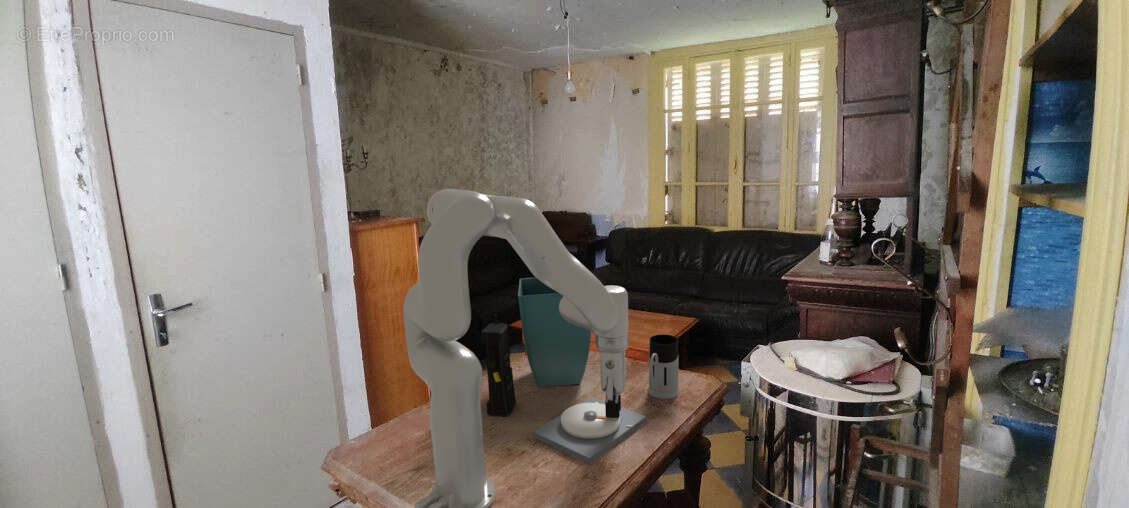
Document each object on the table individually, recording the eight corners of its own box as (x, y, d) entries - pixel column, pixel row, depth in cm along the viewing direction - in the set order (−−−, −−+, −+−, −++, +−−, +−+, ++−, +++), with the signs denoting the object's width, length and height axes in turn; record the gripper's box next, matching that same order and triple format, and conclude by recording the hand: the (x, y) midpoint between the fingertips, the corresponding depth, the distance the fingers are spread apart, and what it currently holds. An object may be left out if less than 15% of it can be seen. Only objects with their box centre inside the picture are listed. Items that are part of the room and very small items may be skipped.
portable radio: (508, 419, 131) (502, 324, 126) (485, 417, 133) (478, 323, 128) (517, 404, 139) (511, 314, 134) (495, 402, 140) (489, 313, 135)
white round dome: (555, 436, 120) (554, 402, 118) (567, 406, 133) (566, 375, 131) (616, 441, 117) (616, 406, 115) (622, 410, 130) (622, 378, 128)
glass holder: (684, 387, 145) (684, 336, 142) (667, 410, 133) (667, 355, 130) (653, 381, 149) (653, 331, 146) (635, 403, 137) (634, 349, 134)
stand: (590, 464, 112) (590, 457, 111) (533, 437, 123) (532, 430, 122) (647, 422, 128) (647, 415, 127) (591, 401, 139) (591, 395, 138)
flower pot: (524, 364, 164) (519, 277, 158) (587, 361, 165) (585, 274, 159) (523, 394, 144) (517, 295, 139) (595, 389, 145) (592, 291, 140)
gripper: (625, 354, 111) (626, 433, 115) (631, 328, 126) (631, 398, 130) (590, 353, 113) (592, 430, 116) (600, 327, 128) (601, 396, 132)
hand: (613, 413), depth 123 cm, fingers closed on white round dome, 2 cm apart
